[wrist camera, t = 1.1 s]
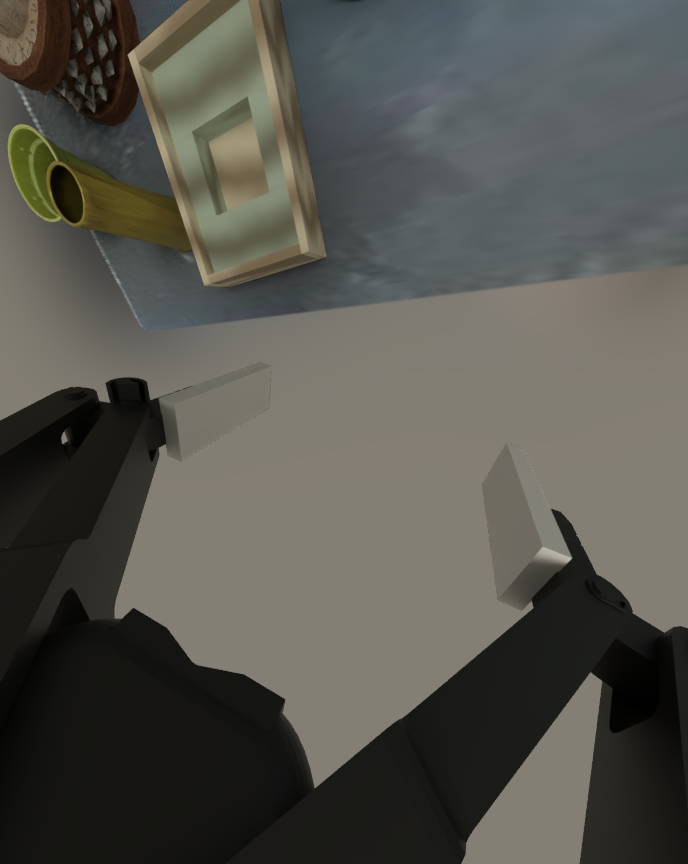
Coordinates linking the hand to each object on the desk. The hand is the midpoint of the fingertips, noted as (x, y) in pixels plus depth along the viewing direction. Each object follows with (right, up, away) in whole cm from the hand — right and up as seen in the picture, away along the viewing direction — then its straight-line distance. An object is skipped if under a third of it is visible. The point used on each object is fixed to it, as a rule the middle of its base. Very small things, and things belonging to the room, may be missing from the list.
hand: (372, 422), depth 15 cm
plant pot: (-37, +35, +27) cm, 58 cm away
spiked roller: (-32, +47, +19) cm, 60 cm away
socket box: (-13, +31, +19) cm, 39 cm away
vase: (-25, +29, +25) cm, 46 cm away
